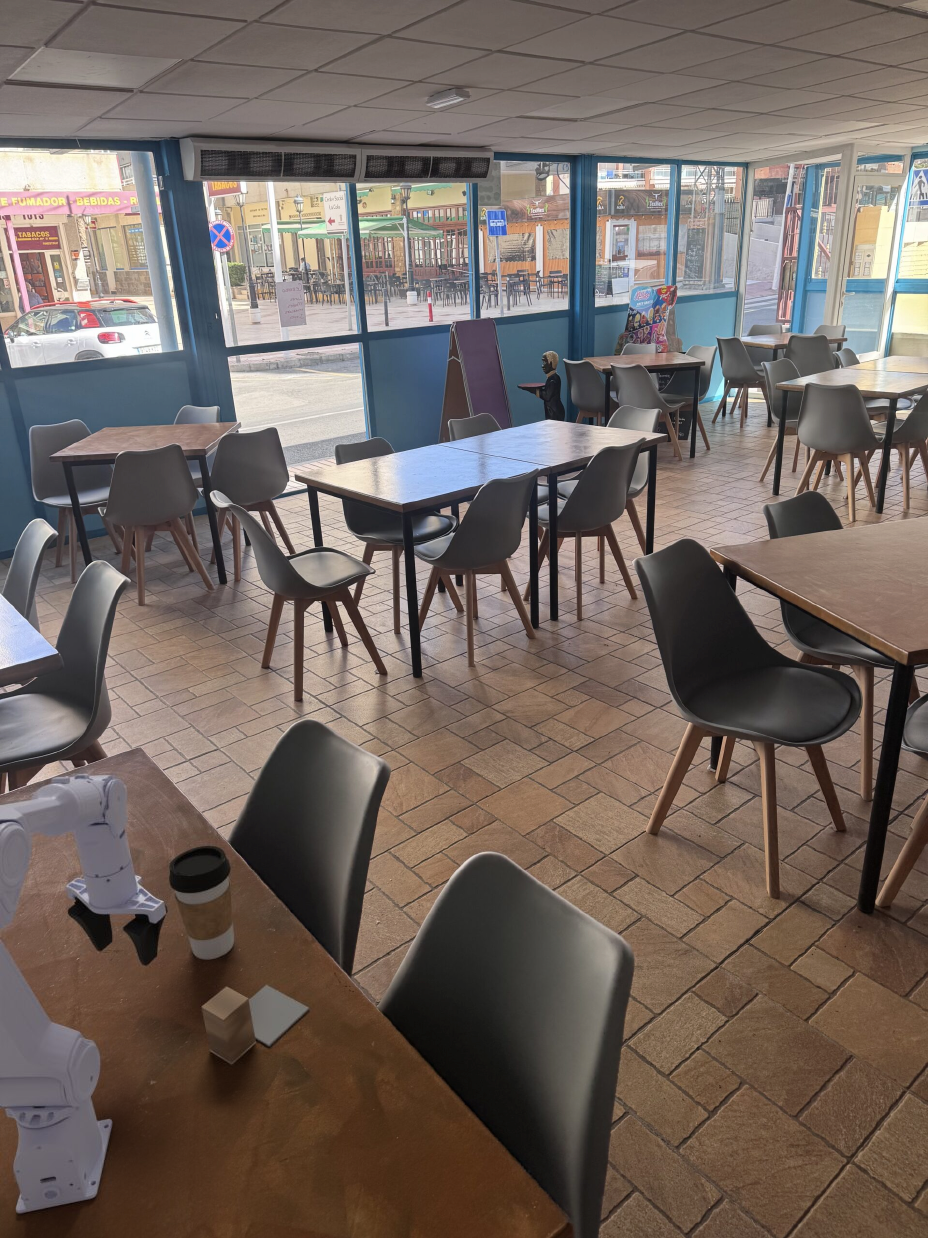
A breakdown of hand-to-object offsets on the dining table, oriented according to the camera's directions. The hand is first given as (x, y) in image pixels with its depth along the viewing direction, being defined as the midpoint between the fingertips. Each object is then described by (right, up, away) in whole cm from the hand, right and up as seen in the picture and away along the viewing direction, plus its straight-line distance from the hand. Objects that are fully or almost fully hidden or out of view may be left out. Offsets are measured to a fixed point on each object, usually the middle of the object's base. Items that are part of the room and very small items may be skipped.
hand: (127, 953), depth 113 cm
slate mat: (+18, -9, +2) cm, 20 cm away
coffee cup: (+7, -5, +15) cm, 17 cm away
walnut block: (+14, -11, -3) cm, 18 cm away
